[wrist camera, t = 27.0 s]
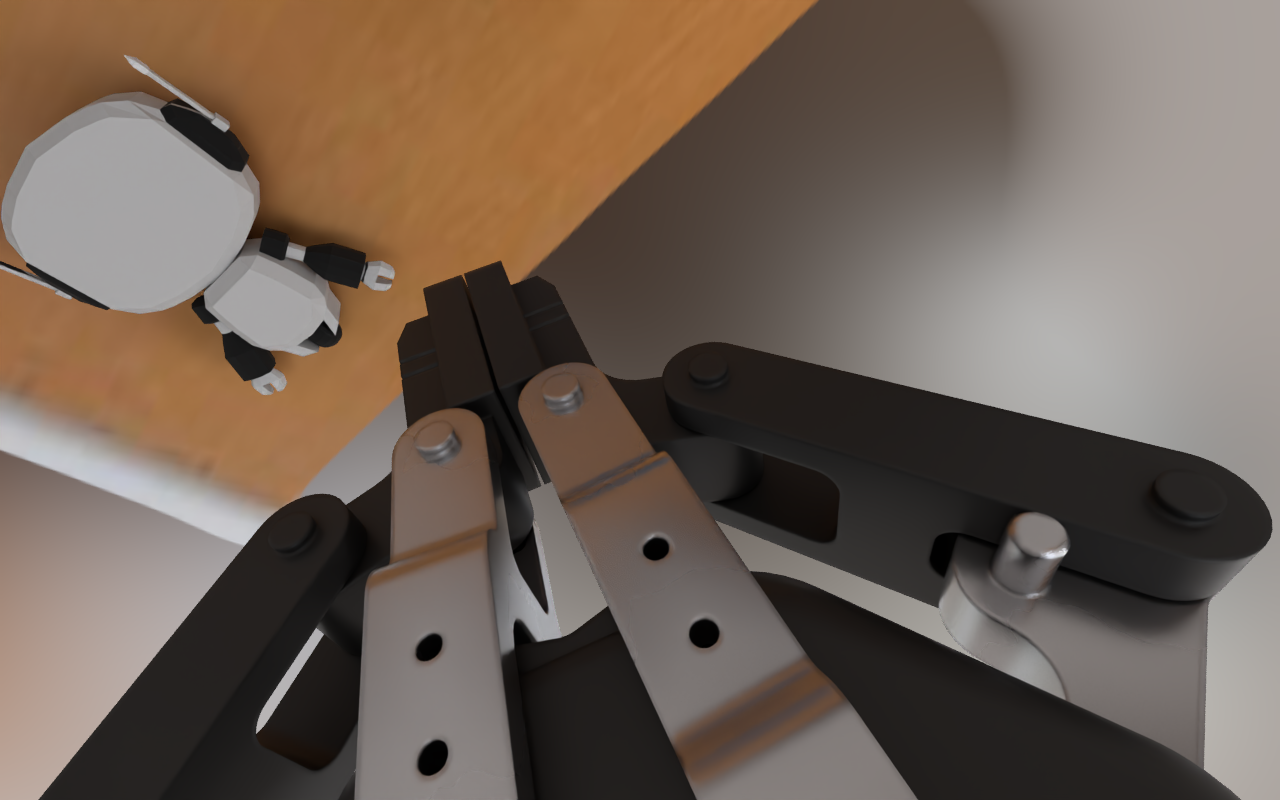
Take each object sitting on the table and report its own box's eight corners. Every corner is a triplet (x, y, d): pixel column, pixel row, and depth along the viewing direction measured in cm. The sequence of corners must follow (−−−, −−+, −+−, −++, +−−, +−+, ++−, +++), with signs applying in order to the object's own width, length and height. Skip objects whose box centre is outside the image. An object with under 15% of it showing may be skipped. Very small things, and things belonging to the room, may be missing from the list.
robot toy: (409, 252, 38) (141, 29, 28) (412, 285, 34) (108, 44, 25) (276, 379, 40) (-16, 212, 30) (266, 422, 36) (-67, 250, 27)
